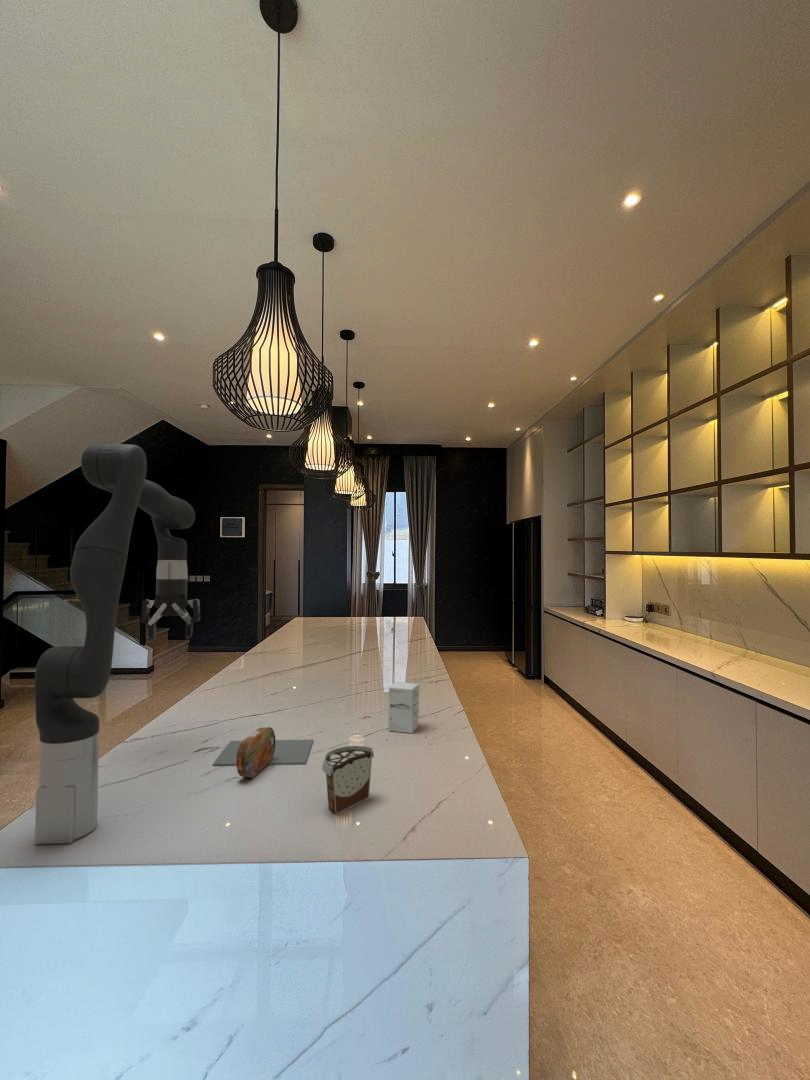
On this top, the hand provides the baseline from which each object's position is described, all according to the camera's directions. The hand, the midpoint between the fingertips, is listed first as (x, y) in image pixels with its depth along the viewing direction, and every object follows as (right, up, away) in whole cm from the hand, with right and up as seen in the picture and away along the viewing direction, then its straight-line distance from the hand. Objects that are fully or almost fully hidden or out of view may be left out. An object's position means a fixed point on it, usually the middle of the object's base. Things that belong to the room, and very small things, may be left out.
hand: (170, 639), depth 140 cm
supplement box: (+62, -29, +14) cm, 69 cm away
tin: (+27, -28, -16) cm, 42 cm away
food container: (+49, -27, -32) cm, 65 cm away
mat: (+27, -28, -5) cm, 39 cm away
